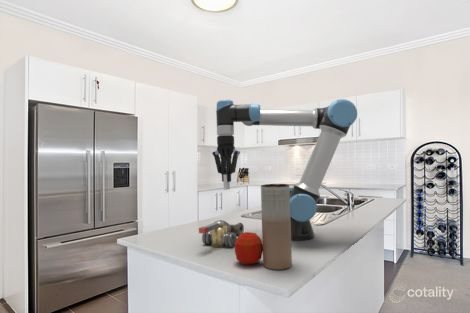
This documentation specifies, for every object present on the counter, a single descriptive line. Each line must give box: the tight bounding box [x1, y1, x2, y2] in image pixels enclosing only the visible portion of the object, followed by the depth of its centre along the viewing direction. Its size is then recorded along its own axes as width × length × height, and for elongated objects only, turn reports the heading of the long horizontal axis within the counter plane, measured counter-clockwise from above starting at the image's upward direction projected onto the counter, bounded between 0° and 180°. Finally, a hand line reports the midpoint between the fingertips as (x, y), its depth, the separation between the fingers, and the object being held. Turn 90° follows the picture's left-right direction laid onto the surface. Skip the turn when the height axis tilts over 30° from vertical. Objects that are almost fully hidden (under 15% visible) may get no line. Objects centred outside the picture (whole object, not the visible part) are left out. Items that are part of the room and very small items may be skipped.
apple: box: [234, 231, 263, 266], centre depth 105 cm, size 10×10×12 cm
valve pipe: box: [201, 226, 238, 249], centre depth 128 cm, size 14×7×8 cm, turn 62°
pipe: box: [217, 219, 245, 236], centre depth 144 cm, size 16×9×15 cm
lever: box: [198, 220, 224, 235], centre depth 123 cm, size 15×4×2 cm, turn 153°
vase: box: [260, 183, 293, 271], centre depth 102 cm, size 10×10×28 cm
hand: (226, 189), depth 129 cm, fingers closed
